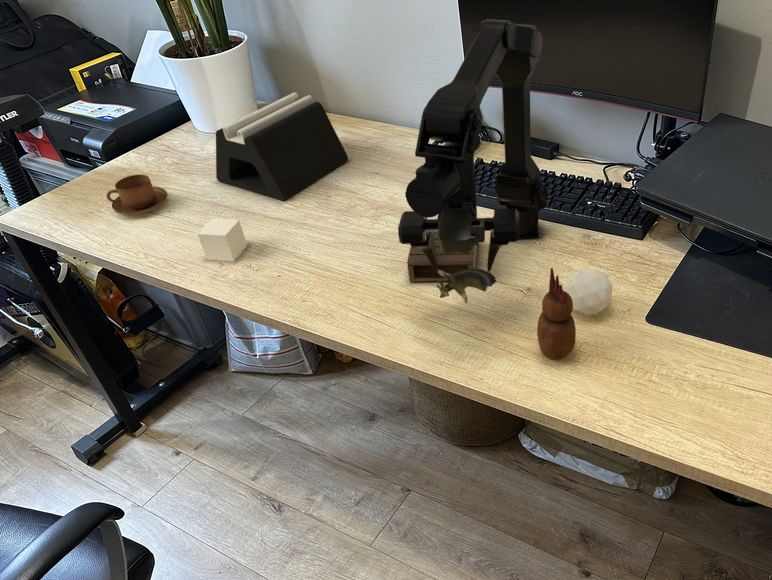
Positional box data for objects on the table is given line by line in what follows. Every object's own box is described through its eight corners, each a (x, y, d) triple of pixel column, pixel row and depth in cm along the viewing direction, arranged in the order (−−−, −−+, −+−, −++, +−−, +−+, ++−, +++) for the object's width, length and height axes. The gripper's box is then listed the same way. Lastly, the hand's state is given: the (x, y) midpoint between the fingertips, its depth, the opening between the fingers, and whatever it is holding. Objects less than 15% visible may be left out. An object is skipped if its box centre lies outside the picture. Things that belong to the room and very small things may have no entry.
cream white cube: (221, 243, 136) (212, 218, 132) (247, 245, 135) (239, 219, 131) (206, 259, 131) (197, 233, 127) (233, 261, 130) (224, 235, 126)
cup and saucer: (126, 225, 144) (114, 200, 140) (107, 207, 151) (96, 182, 147) (178, 205, 149) (168, 181, 145) (158, 189, 156) (148, 164, 152)
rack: (477, 243, 130) (476, 224, 127) (474, 281, 120) (472, 261, 117) (417, 244, 131) (415, 225, 128) (409, 282, 121) (406, 262, 118)
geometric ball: (575, 317, 115) (561, 274, 114) (620, 303, 113) (605, 259, 112) (571, 324, 108) (556, 278, 107) (619, 309, 105) (604, 262, 105)
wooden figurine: (534, 339, 107) (535, 263, 97) (568, 336, 107) (573, 259, 97) (541, 367, 102) (542, 290, 92) (577, 364, 102) (583, 286, 92)
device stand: (348, 161, 162) (337, 101, 152) (285, 201, 148) (267, 138, 138) (283, 145, 171) (268, 87, 162) (217, 181, 158) (197, 120, 148)
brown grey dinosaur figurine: (455, 316, 107) (502, 294, 109) (440, 278, 104) (489, 255, 106) (439, 305, 114) (484, 284, 116) (425, 269, 111) (471, 247, 113)
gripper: (386, 213, 92) (400, 301, 103) (519, 210, 91) (519, 299, 101) (397, 176, 101) (409, 261, 111) (518, 173, 99) (519, 259, 109)
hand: (462, 270), depth 108 cm, fingers closed on brown grey dinosaur figurine, 8 cm apart
